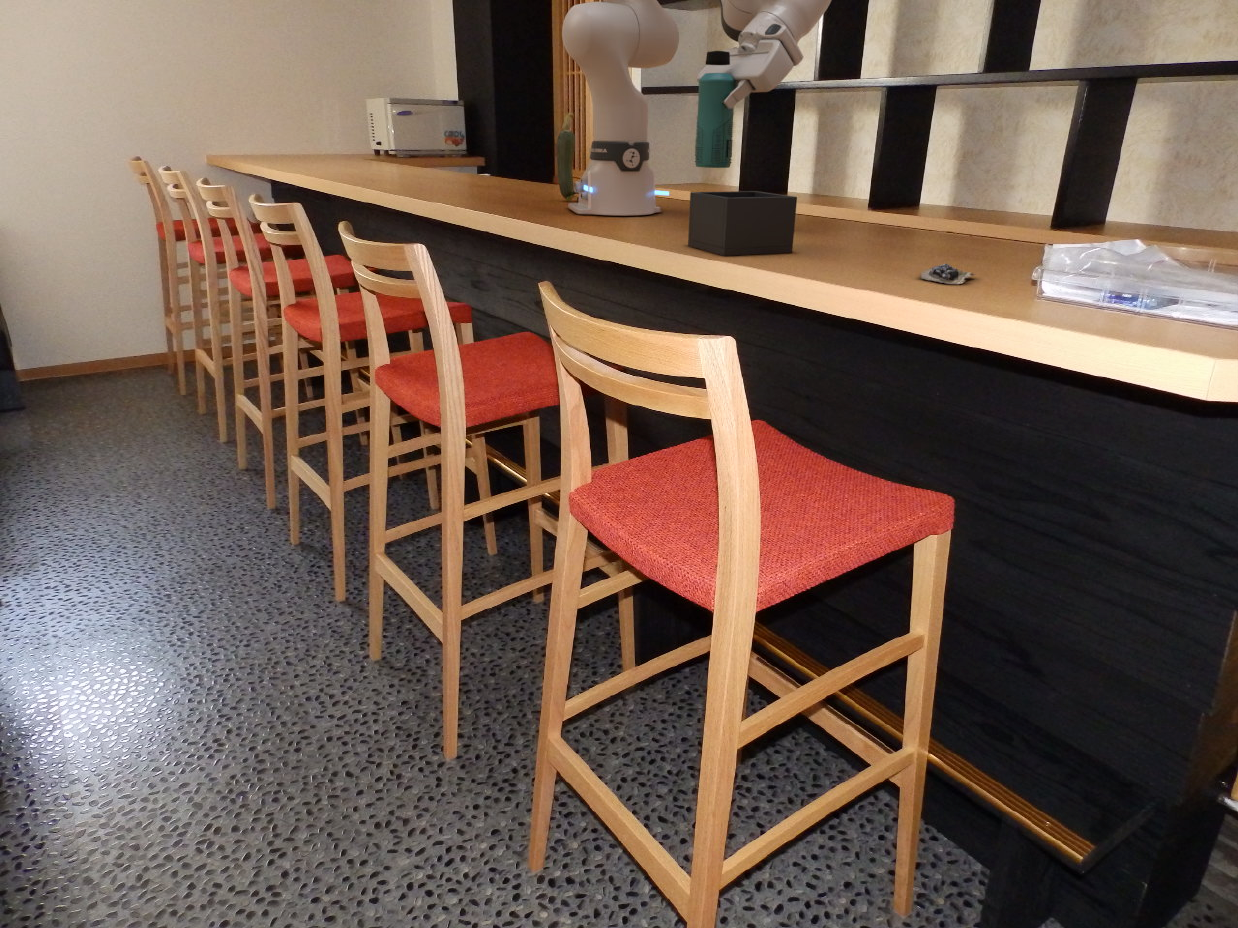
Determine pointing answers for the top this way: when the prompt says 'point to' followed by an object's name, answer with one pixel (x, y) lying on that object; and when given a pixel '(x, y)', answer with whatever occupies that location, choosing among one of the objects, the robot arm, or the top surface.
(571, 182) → the vegetable
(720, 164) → the beverage bottle
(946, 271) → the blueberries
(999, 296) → the top surface
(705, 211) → the box
